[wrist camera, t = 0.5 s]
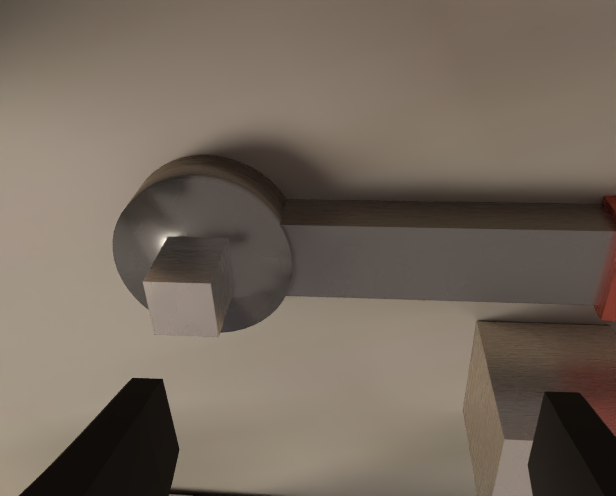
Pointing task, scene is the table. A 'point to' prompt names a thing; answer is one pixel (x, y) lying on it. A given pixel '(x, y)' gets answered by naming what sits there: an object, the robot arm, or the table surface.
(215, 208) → the orange and grey piece
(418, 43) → the table surface
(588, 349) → the white wooden cube
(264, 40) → the table surface
